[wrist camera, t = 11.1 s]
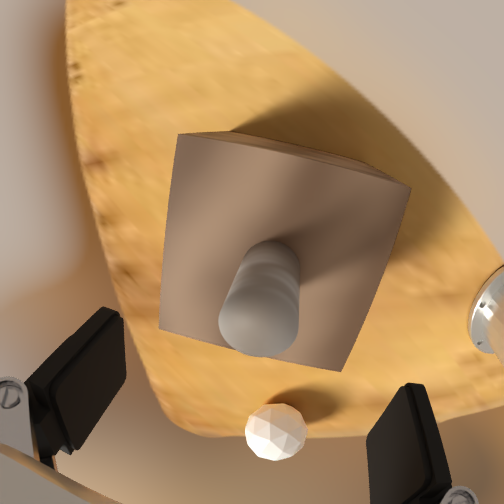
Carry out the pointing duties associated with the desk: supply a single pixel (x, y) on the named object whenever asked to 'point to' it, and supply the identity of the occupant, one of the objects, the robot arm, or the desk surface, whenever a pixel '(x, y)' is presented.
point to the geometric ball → (276, 431)
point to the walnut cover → (274, 246)
